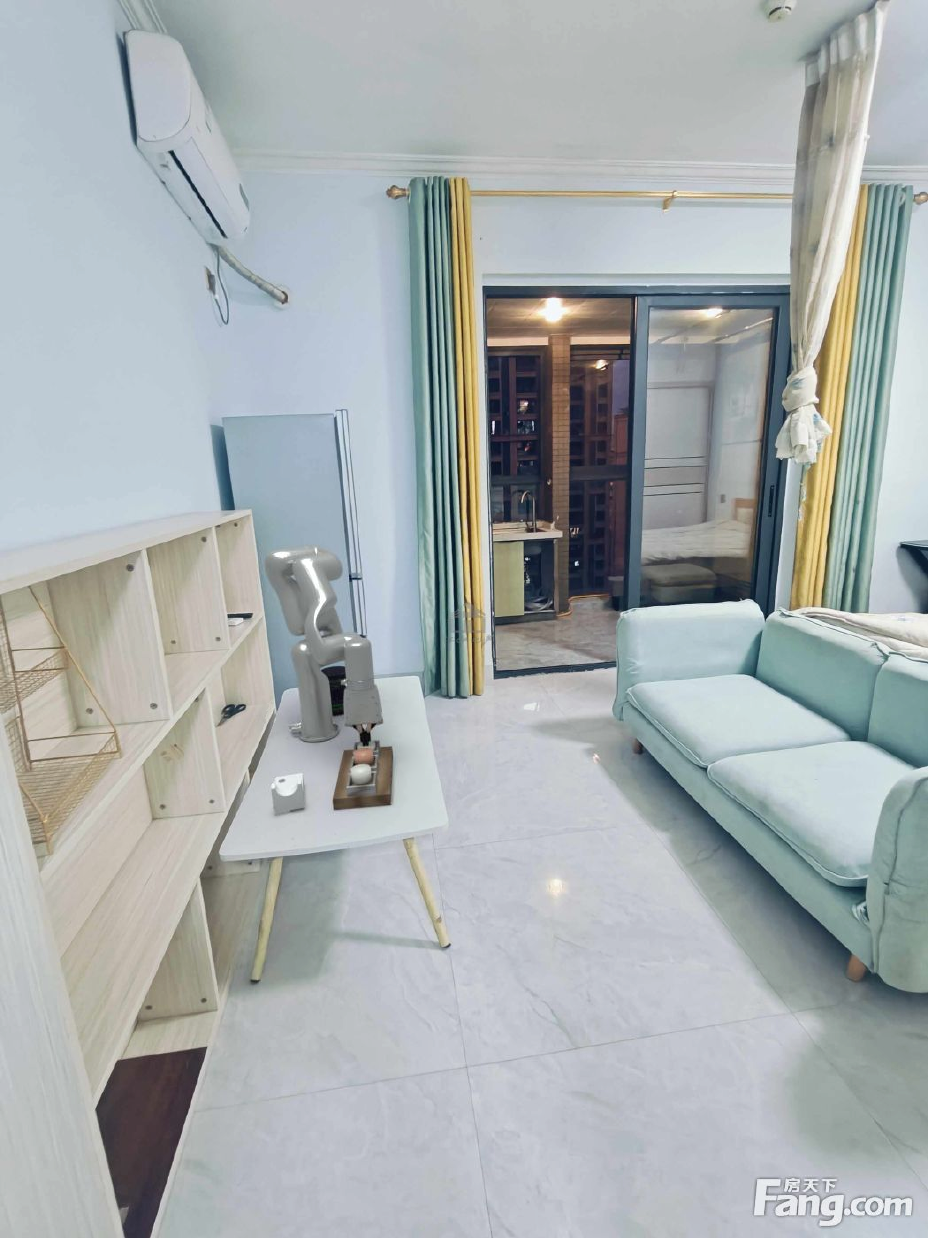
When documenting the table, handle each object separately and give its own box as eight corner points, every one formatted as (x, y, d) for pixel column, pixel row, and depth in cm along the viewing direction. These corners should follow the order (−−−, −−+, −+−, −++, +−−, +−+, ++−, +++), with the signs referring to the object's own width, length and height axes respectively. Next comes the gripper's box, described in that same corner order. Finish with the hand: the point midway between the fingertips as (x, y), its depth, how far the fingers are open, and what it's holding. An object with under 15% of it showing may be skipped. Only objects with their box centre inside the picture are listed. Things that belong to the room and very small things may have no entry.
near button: (350, 785, 143) (349, 774, 142) (352, 775, 148) (351, 764, 147) (371, 783, 143) (370, 773, 143) (372, 773, 148) (371, 763, 147)
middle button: (354, 767, 152) (353, 757, 151) (355, 758, 156) (354, 748, 156) (373, 766, 152) (372, 755, 151) (374, 757, 157) (373, 747, 156)
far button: (357, 759, 161) (356, 749, 160) (358, 750, 166) (358, 741, 165) (375, 757, 161) (374, 747, 160) (376, 749, 166) (375, 739, 165)
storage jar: (322, 708, 206) (317, 668, 202) (349, 703, 209) (345, 664, 205) (326, 718, 196) (321, 677, 193) (354, 713, 200) (350, 672, 196)
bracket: (304, 811, 143) (301, 783, 141) (274, 816, 141) (271, 788, 139) (304, 784, 155) (301, 759, 153) (276, 789, 153) (273, 763, 152)
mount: (333, 810, 142) (331, 790, 141) (344, 759, 167) (342, 742, 166) (390, 804, 144) (389, 785, 142) (393, 755, 169) (391, 738, 167)
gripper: (331, 690, 154) (337, 752, 158) (387, 686, 155) (392, 748, 160) (334, 680, 161) (340, 740, 166) (388, 676, 162) (392, 736, 167)
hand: (365, 743), depth 163 cm, fingers closed
